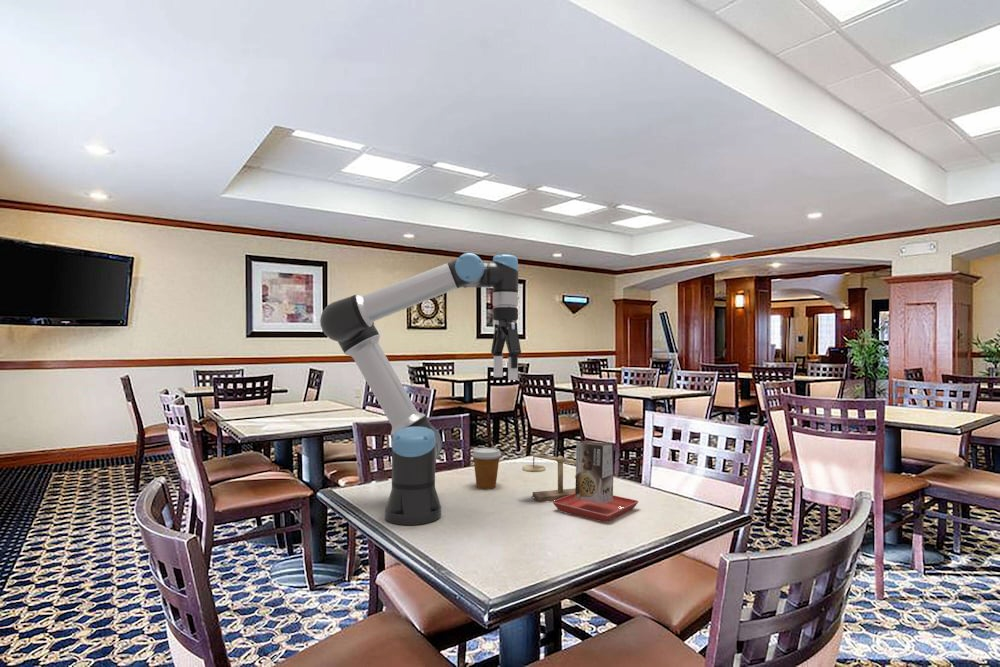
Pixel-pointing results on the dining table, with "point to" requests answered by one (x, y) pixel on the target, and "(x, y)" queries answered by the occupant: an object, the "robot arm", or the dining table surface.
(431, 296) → the robot arm
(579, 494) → the coffee box
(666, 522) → the dining table surface
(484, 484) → the disposable coffee cup
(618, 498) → the plant saucer
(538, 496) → the balance
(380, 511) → the dining table surface
